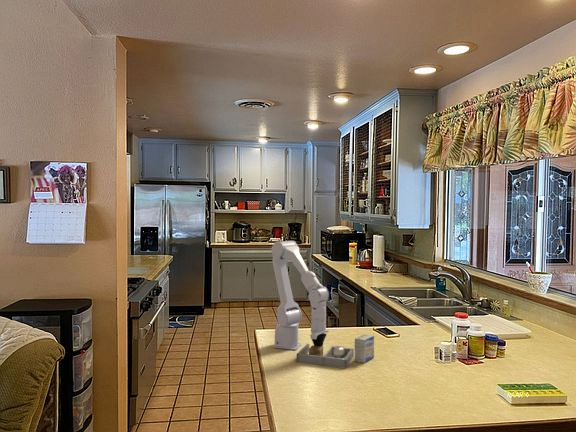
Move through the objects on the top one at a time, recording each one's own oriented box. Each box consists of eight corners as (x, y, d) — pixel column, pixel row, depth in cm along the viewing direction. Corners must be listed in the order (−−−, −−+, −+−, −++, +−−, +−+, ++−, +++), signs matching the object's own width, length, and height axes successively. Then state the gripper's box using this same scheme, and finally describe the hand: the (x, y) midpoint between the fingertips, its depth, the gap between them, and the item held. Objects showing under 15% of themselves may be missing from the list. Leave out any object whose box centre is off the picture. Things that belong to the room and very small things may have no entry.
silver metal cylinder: (331, 362, 171) (331, 348, 171) (334, 358, 176) (334, 345, 176) (342, 363, 170) (343, 350, 170) (345, 359, 174) (345, 346, 174)
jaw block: (308, 359, 174) (308, 348, 174) (311, 355, 179) (312, 345, 178) (320, 360, 173) (320, 350, 173) (323, 356, 177) (323, 346, 177)
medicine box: (364, 363, 170) (364, 340, 170) (354, 360, 173) (354, 338, 173) (374, 358, 176) (374, 335, 176) (363, 355, 179) (364, 333, 179)
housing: (296, 362, 171) (296, 354, 171) (307, 351, 184) (307, 343, 184) (346, 368, 165) (346, 360, 165) (353, 356, 178) (353, 348, 178)
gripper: (324, 323, 171) (323, 359, 171) (332, 314, 184) (332, 348, 185) (305, 321, 173) (305, 357, 173) (315, 313, 187) (315, 346, 187)
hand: (318, 352), depth 179 cm, fingers closed
